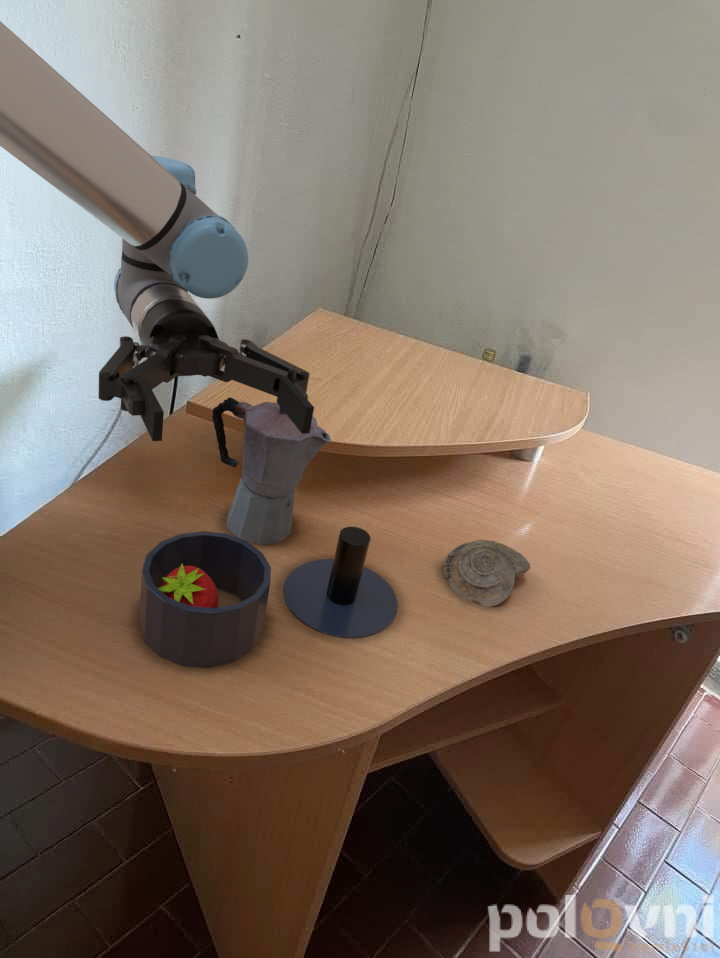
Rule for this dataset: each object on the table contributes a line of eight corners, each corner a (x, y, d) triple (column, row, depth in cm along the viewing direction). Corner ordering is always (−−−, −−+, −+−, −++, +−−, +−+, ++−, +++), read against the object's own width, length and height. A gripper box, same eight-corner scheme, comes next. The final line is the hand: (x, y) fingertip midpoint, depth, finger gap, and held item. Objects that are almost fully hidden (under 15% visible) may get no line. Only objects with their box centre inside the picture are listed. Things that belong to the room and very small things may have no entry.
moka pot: (302, 565, 90) (329, 429, 79) (187, 536, 90) (199, 396, 80) (317, 525, 98) (343, 397, 88) (212, 498, 98) (226, 368, 88)
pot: (156, 686, 69) (160, 623, 65) (128, 600, 78) (130, 539, 74) (278, 658, 75) (289, 599, 71) (239, 582, 84) (246, 525, 80)
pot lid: (310, 655, 76) (325, 584, 71) (265, 575, 86) (276, 507, 81) (416, 631, 83) (437, 564, 78) (363, 559, 93) (379, 496, 88)
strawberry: (183, 663, 73) (156, 619, 65) (167, 605, 78) (140, 557, 70) (237, 641, 74) (216, 595, 67) (218, 585, 79) (197, 536, 71)
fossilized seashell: (430, 550, 95) (462, 517, 91) (484, 565, 101) (516, 535, 97) (456, 614, 88) (492, 581, 84) (513, 627, 93) (549, 596, 90)
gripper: (276, 363, 84) (354, 452, 68) (51, 362, 72) (84, 470, 56) (285, 303, 80) (369, 382, 65) (49, 291, 68) (85, 386, 53)
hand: (237, 423), depth 61 cm, fingers open, 13 cm apart
